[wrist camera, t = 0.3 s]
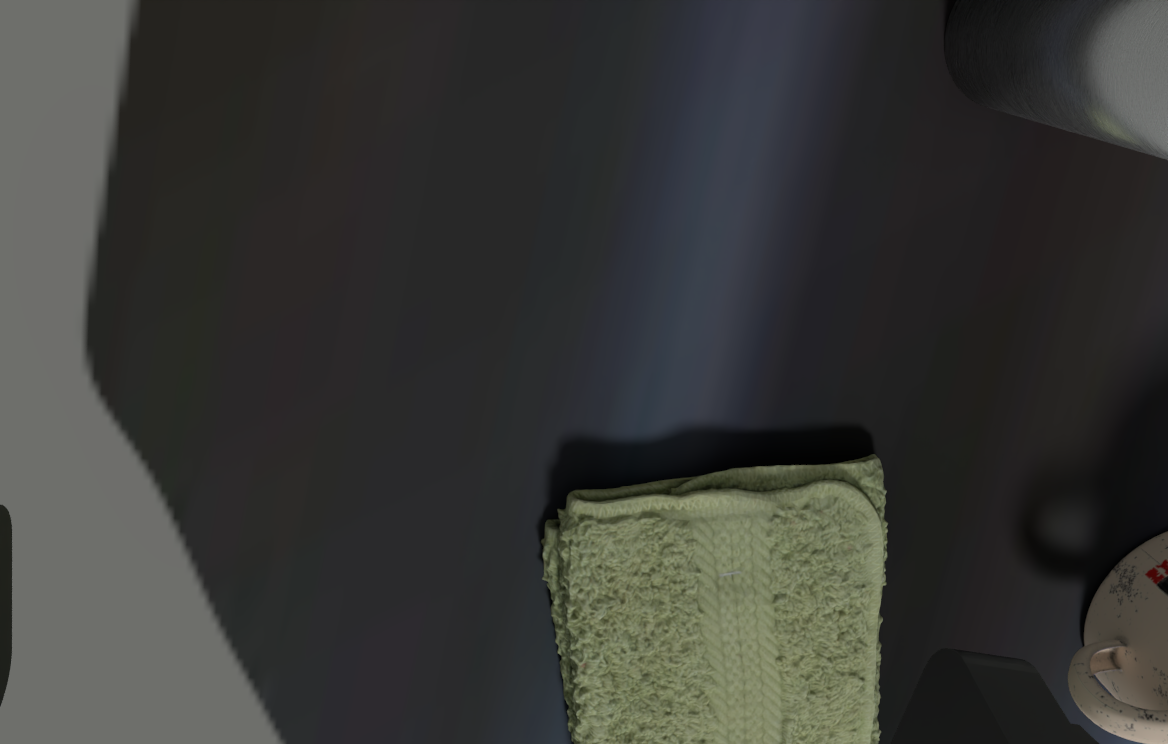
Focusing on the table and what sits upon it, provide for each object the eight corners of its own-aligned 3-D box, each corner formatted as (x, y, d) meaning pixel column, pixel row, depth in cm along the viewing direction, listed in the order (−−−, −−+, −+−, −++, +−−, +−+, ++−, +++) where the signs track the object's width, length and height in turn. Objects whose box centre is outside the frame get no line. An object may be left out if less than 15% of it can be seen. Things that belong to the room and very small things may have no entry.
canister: (964, -59, 35) (1261, -59, 22) (1106, -35, 35) (1465, -23, 23) (924, 102, 36) (1180, 183, 24) (1060, 121, 37) (1374, 208, 25)
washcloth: (876, 428, 41) (912, 466, 38) (868, 794, 48) (898, 851, 45) (529, 476, 40) (538, 519, 37) (570, 846, 46) (581, 908, 43)
